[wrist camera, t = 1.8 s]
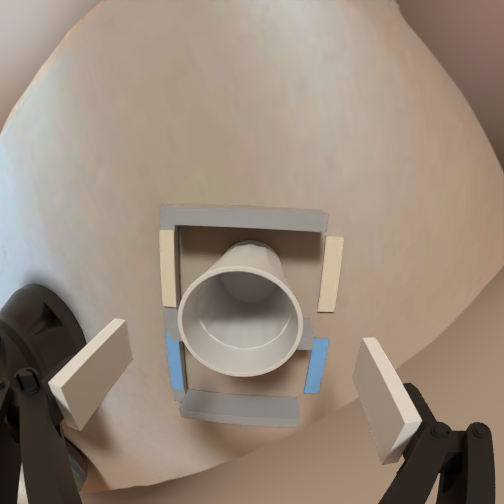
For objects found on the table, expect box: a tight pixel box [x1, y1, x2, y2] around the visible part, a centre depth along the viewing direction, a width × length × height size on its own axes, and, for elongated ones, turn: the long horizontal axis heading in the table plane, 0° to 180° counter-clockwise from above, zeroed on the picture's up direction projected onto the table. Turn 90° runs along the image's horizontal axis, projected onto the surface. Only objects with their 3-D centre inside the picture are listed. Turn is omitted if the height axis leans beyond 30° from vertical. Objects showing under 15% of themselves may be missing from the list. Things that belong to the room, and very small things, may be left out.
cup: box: [178, 240, 303, 377], centre depth 23 cm, size 8×8×12 cm
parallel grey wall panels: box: [159, 204, 344, 427], centre depth 29 cm, size 18×24×4 cm
